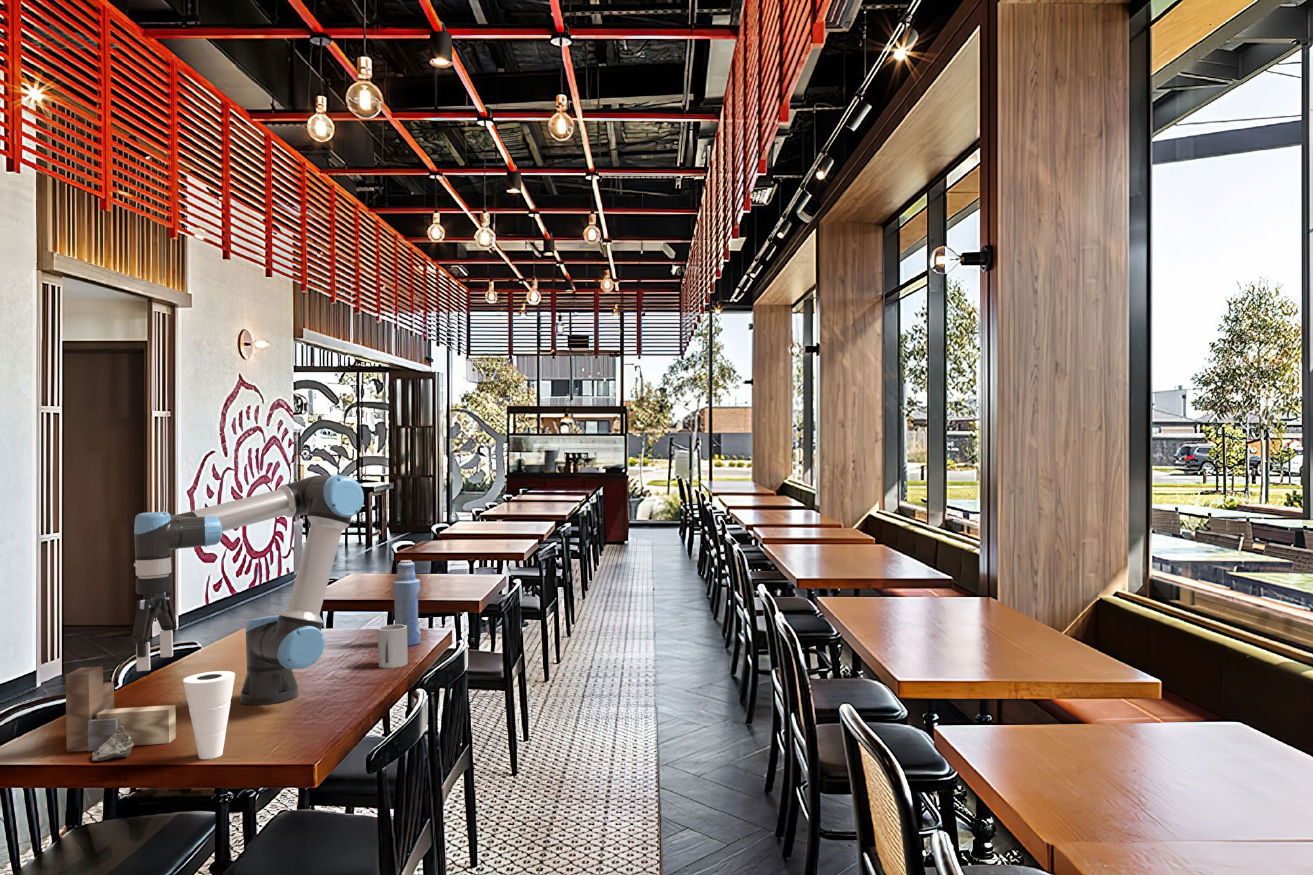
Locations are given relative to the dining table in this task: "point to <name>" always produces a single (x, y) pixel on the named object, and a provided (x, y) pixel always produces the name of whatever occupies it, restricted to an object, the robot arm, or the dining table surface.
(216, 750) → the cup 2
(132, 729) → the rail
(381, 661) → the cup
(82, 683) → the post
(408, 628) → the bottle
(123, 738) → the rock sample
